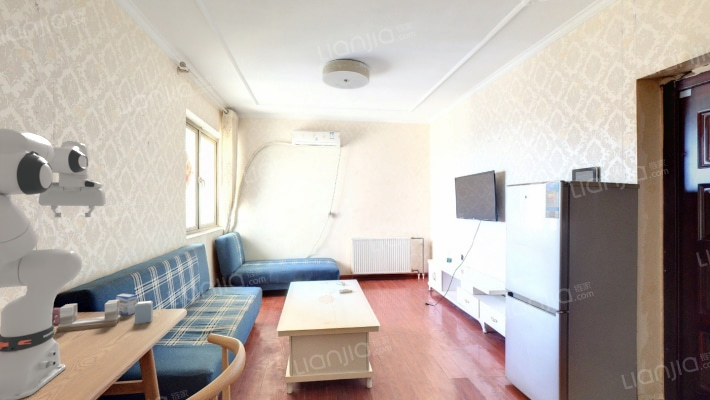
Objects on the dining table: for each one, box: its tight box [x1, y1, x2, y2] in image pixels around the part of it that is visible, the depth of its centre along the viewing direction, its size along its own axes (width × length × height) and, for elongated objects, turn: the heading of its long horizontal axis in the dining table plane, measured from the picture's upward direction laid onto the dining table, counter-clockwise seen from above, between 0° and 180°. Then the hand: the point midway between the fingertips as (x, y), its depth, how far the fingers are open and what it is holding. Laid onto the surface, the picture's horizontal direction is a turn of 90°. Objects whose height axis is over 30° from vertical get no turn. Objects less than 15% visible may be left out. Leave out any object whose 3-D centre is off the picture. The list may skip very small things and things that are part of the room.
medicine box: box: [115, 293, 138, 316], centre depth 151 cm, size 8×4×9 cm, turn 77°
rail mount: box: [55, 299, 122, 333], centre depth 136 cm, size 8×20×9 cm, turn 114°
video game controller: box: [52, 307, 61, 326], centre depth 138 cm, size 10×5×7 cm, turn 84°
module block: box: [134, 300, 154, 325], centre depth 141 cm, size 4×6×9 cm
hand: (73, 217), depth 126 cm, fingers open, 8 cm apart
